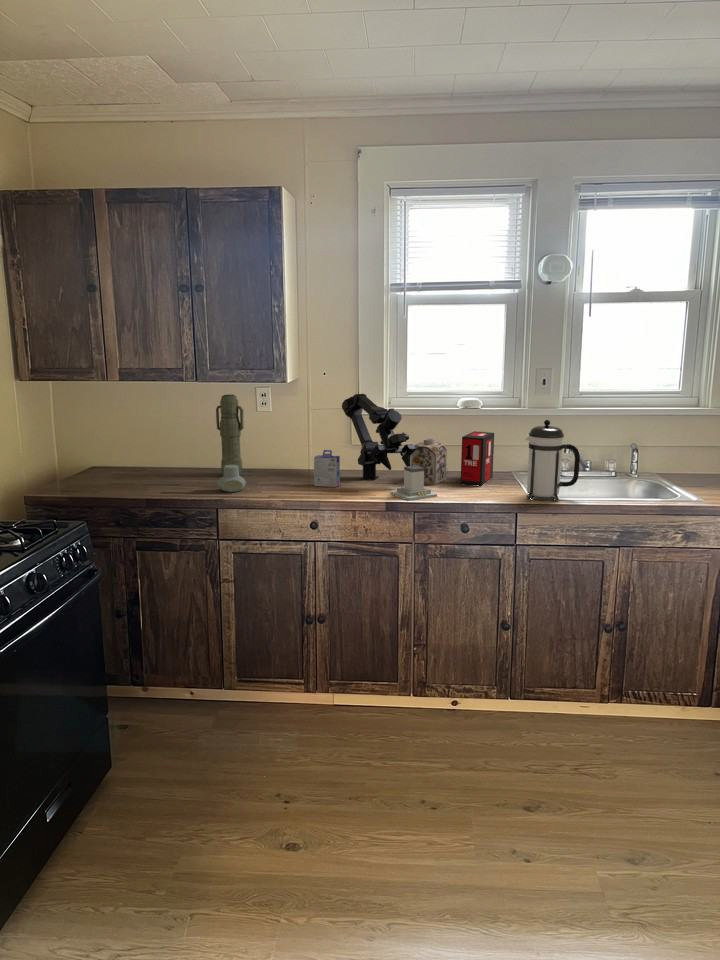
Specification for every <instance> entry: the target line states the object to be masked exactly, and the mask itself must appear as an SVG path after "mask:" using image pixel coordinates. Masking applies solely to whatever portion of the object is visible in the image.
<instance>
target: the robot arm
mask: <svg viewBox="0 0 720 960" xmlns="http://www.w3.org/2000/svg"><path fill="white" fill-rule="evenodd" d="M341 408H342V411H343V412H344V414H345V416H346V417H348V418H349V419H351V421H352V425H353V426H354V429H355V432H356V434H357V438H358V440H359V442H360V445H361V448H360V451H359V452H360V455H359V456H358V458H357V464H358V465H360V466H362V476H361V477H359V479H360V480H367V481H369V480H370V481H375V480H377V479H379V478H380V476H378V475H377V465H381V464H382V465H383V466H384V467H385V468H387V469H388V470H389V471H392V466H391V463H390V460H389V458H388V454H400V457H401V460H402V461H403V463H404V465H405V467H407V466H411V455H412V453H413V452H414V451H415V450H416V448H415V444H412V443H409V444H408V443H407V444H404V446H403V444H402V443H406V442H407V441H409V439H410V435H409V433H408V431H405V432H404V431H403V432H401V433H394V430H395V429H396V428H397V427H398V425H399V424H400V422H401V421H402V418H403V417H402V415H401V413H400V412H399V411H397V410H396V409H395V408H389V409H387V408H384V407H381V406H378V405H377V404H375V403H374V402H373V401H372V400H371V399H370V398H369V397H368V396H367V394H365V393H355V394H354V395H352V396H350V397H348V398H345V399H344V400H343V402H342V403H341ZM363 411H364V412H366V413H367V415H368V416H369V417H368V419H369V421H370V422H371V424H374V425H377V424H378V426H376V429H375V433H376V434H379V437H380V439H381V440H380V441H379V442H378V441H373V439H372V436H371V435H370V432H369V429H368V427H367V424H366V422H365V420H364V418H363V414H362V413H363ZM379 443H380V444H379ZM401 446H403V447H401Z"/></svg>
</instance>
